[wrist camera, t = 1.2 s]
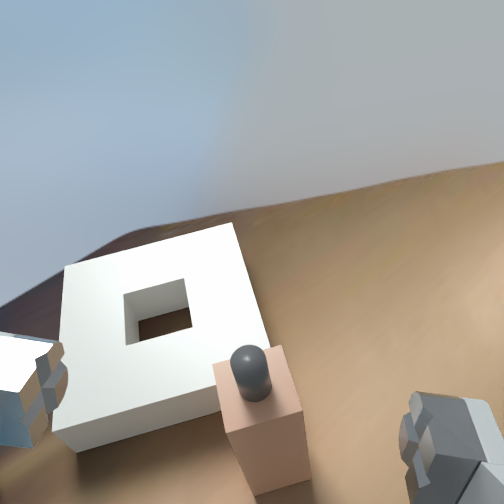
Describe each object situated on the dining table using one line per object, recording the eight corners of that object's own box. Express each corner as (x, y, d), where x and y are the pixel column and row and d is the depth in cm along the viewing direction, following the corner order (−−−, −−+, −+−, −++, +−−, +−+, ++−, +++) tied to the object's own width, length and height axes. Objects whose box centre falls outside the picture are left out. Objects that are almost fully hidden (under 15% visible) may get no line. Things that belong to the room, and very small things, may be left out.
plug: (293, 422, 37) (276, 317, 26) (311, 478, 34) (299, 385, 23) (241, 438, 37) (201, 338, 26) (253, 496, 34) (215, 410, 23)
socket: (238, 251, 52) (231, 222, 48) (281, 393, 39) (276, 367, 36) (82, 292, 50) (64, 266, 47) (76, 452, 38) (51, 431, 35)
